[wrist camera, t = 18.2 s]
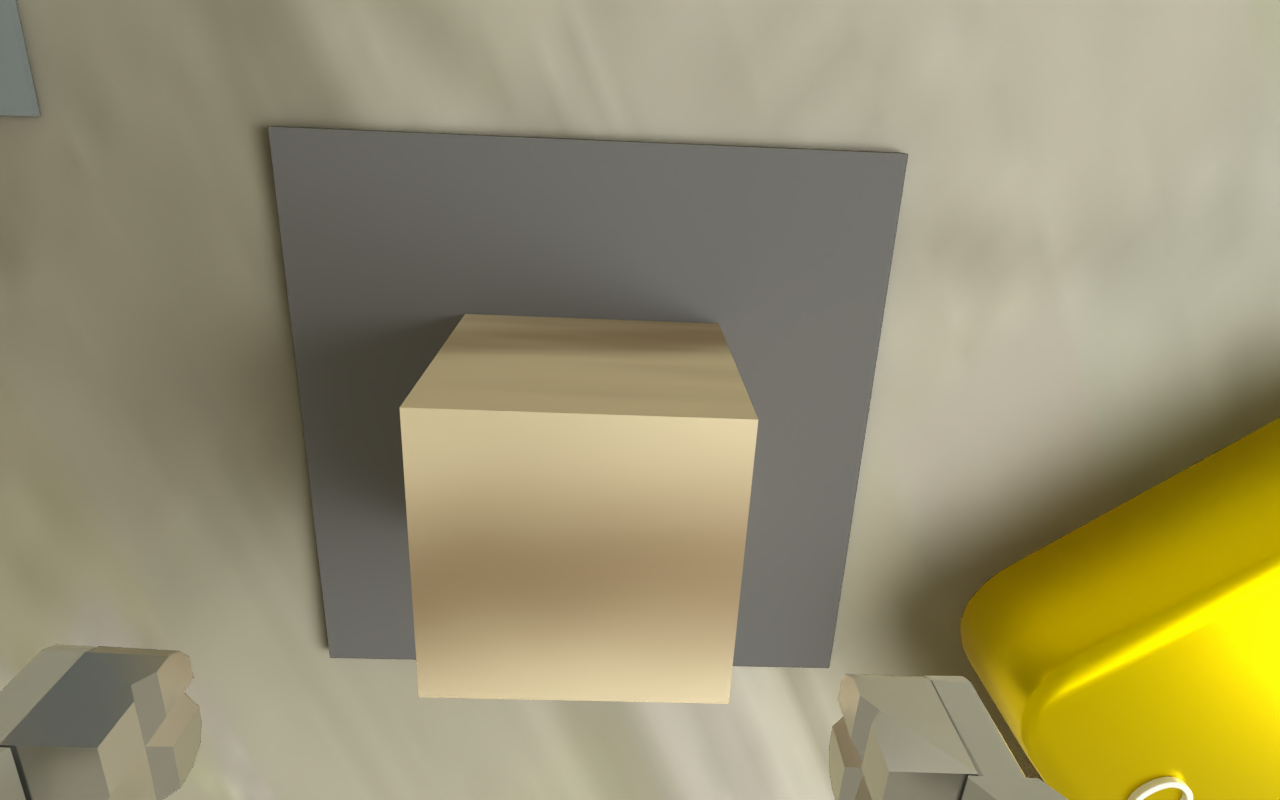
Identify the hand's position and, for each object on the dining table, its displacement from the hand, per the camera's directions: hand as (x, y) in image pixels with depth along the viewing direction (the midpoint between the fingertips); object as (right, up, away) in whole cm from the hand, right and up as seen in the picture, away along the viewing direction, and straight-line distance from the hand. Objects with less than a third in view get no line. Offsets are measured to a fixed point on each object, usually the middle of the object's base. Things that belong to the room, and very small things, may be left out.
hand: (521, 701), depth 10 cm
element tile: (+20, -4, +14) cm, 25 cm away
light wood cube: (0, +3, +10) cm, 10 cm away
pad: (0, +3, +10) cm, 11 cm away
